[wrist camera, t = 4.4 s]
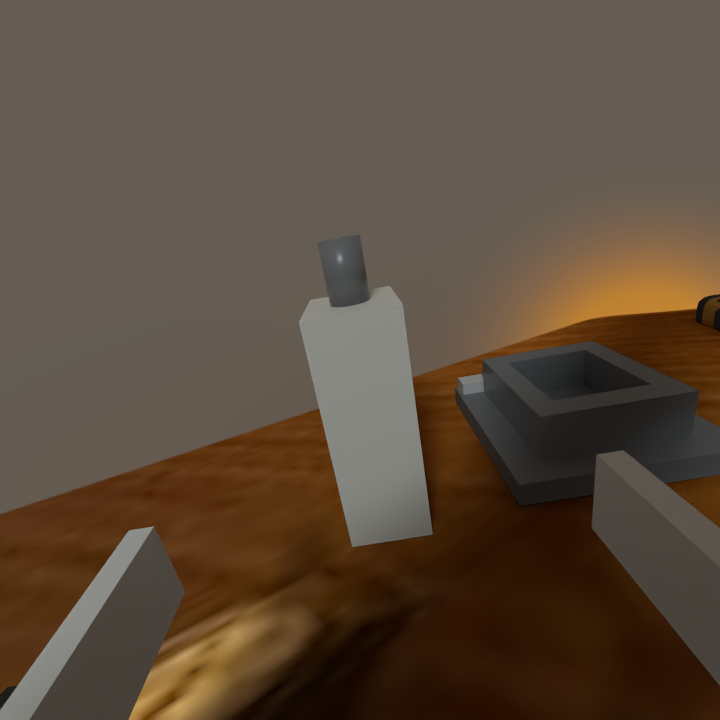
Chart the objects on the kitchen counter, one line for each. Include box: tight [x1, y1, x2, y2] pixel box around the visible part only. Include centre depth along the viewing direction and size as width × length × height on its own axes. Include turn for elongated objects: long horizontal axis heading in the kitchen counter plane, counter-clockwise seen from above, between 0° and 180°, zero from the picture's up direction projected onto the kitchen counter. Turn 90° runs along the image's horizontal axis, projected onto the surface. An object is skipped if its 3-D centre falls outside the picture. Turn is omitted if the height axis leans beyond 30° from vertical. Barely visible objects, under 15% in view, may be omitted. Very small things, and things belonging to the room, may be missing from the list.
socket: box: [455, 341, 720, 506], centre depth 26 cm, size 13×13×4 cm
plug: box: [299, 235, 433, 547], centre depth 20 cm, size 4×5×16 cm
